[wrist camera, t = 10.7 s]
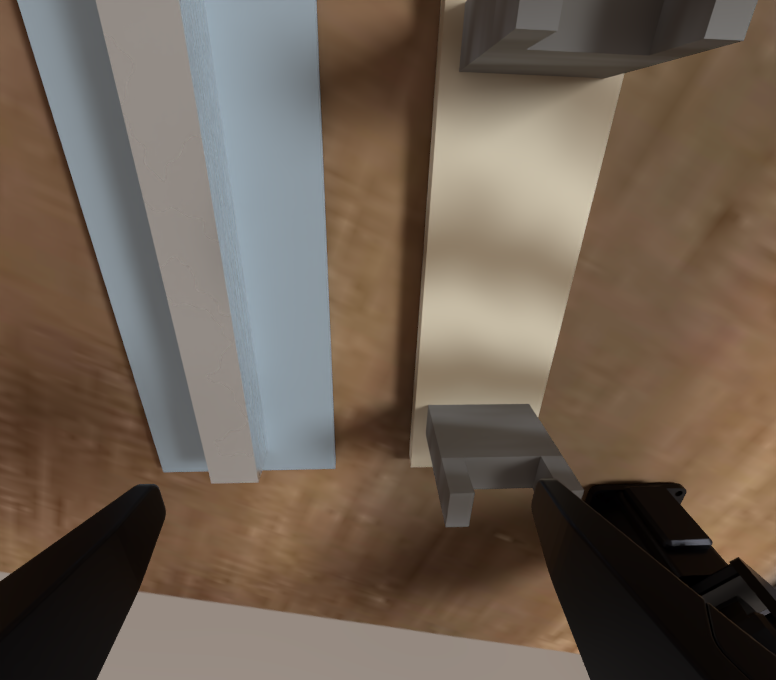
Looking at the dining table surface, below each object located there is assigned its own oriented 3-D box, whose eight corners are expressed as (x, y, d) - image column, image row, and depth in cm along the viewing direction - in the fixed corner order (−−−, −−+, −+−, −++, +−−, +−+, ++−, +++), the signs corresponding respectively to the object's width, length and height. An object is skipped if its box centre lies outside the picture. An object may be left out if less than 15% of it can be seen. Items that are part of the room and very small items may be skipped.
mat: (335, 462, 24) (335, 468, 23) (167, 465, 23) (163, 472, 23) (311, -115, 13) (309, -125, 12) (-15, -139, 12) (-30, -150, 12)
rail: (268, 450, 22) (258, 482, 20) (226, 450, 22) (211, 483, 20) (194, -69, 13) (160, -113, 10) (117, -74, 12) (66, -119, 10)
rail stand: (520, 453, 24) (574, 559, 18) (409, 455, 24) (425, 564, 18) (644, -71, 14) (882, -252, 7) (446, -85, 13) (521, -291, 7)
